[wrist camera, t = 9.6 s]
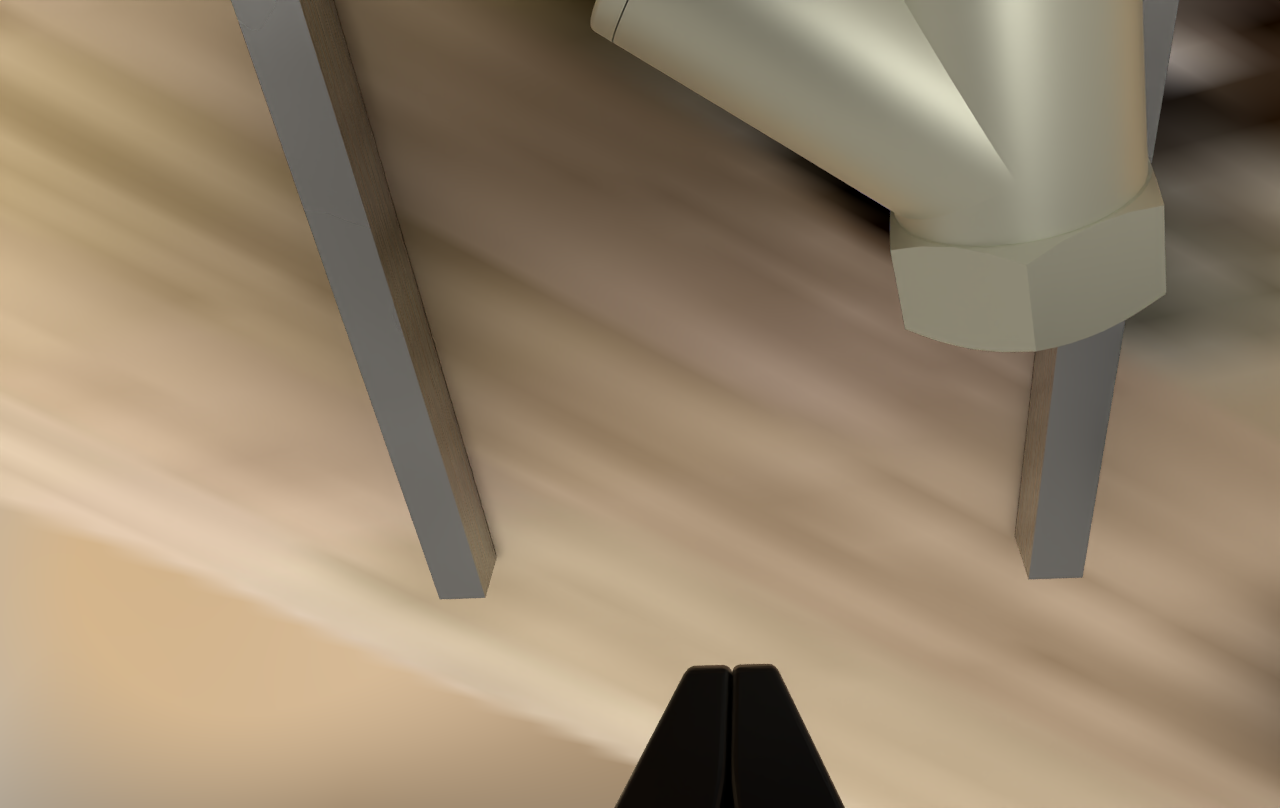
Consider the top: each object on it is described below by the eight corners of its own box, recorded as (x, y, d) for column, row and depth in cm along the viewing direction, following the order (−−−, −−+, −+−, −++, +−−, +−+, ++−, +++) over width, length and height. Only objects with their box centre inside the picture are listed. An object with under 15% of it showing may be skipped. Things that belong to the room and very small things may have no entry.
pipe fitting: (465, -189, 11) (1168, -451, 8) (567, -230, 14) (1104, -431, 11) (675, 404, 15) (1180, 344, 13) (716, 274, 18) (1132, 204, 16)
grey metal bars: (1081, 534, 20) (1104, 591, 19) (439, 560, 22) (421, 613, 21) (1318, -933, 10) (1408, -1027, 8) (35, -636, 12) (-54, -678, 10)
